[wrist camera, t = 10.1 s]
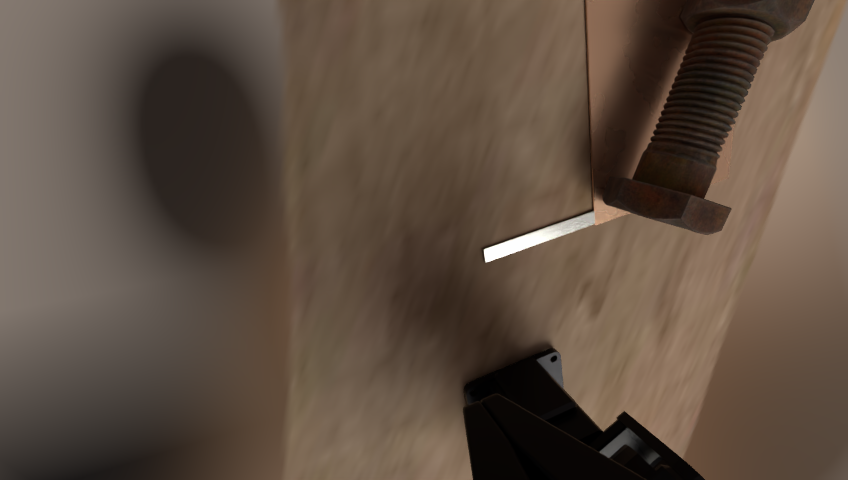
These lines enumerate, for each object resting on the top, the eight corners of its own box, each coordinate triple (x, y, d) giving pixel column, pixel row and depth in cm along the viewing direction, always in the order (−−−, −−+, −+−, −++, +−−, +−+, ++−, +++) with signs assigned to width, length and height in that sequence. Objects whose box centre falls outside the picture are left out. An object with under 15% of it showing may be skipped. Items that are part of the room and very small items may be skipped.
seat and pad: (727, 177, 26) (728, 178, 26) (485, 263, 22) (486, 264, 22) (768, -232, 18) (771, -234, 18) (409, -202, 15) (410, -203, 15)
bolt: (716, -63, 22) (611, 206, 25) (708, -130, 18) (585, 199, 21) (864, -74, 19) (721, 239, 22) (895, -159, 15) (713, 238, 18)
